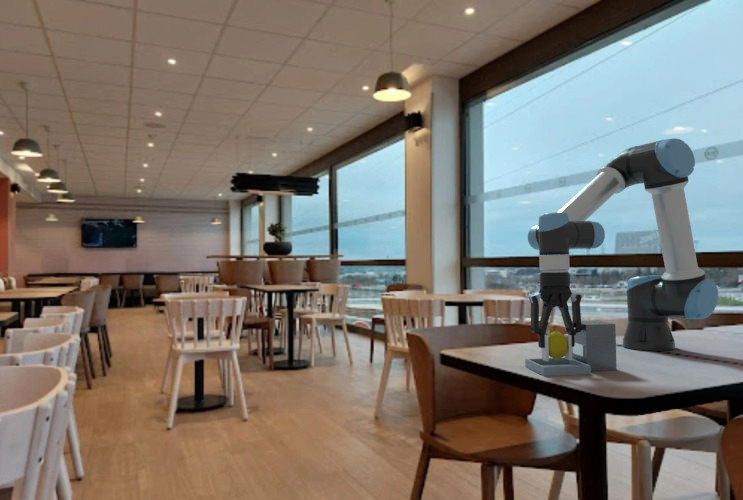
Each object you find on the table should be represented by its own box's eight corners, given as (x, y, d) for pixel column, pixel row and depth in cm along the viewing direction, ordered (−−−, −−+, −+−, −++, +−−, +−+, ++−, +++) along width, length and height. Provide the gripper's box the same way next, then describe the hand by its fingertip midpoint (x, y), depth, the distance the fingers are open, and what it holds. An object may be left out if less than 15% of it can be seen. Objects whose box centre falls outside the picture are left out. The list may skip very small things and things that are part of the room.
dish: (569, 365, 151) (568, 357, 151) (591, 374, 139) (590, 365, 139) (525, 366, 150) (525, 358, 150) (543, 375, 137) (543, 367, 138)
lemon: (565, 359, 147) (564, 329, 147) (570, 362, 141) (569, 331, 141) (543, 359, 147) (542, 329, 148) (548, 362, 142) (547, 331, 142)
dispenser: (600, 363, 152) (599, 320, 152) (618, 370, 143) (616, 323, 143) (570, 364, 151) (569, 321, 152) (586, 371, 142) (584, 324, 143)
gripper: (581, 270, 149) (583, 356, 149) (515, 272, 148) (517, 358, 147) (595, 271, 142) (597, 361, 141) (525, 272, 140) (528, 363, 140)
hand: (556, 359), depth 144 cm, fingers closed on lemon, 5 cm apart
